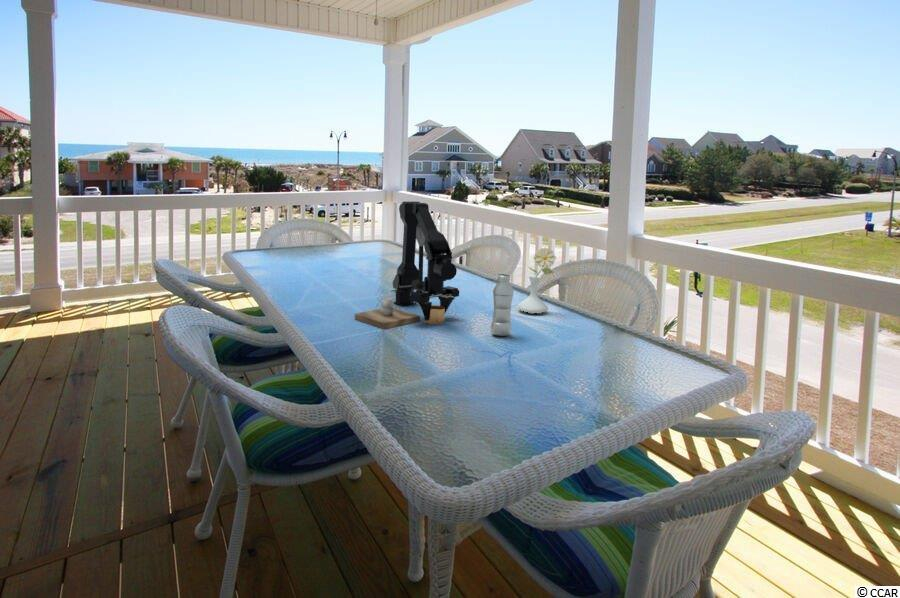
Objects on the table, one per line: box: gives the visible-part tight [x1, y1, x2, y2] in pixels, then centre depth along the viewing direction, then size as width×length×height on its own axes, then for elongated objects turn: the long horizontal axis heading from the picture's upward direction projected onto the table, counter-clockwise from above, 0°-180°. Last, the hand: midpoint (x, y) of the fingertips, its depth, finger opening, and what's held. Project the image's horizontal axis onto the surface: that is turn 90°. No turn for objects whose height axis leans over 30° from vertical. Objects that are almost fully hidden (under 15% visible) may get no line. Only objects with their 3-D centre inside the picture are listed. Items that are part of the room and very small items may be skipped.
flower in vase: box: [517, 246, 557, 314], centre depth 225 cm, size 13×11×25 cm
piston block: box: [354, 297, 421, 330], centre depth 209 cm, size 16×16×8 cm
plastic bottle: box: [490, 273, 515, 337], centre depth 194 cm, size 6×7×20 cm
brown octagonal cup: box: [423, 304, 446, 325], centre depth 210 cm, size 7×7×5 cm
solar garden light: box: [416, 224, 437, 292], centre depth 251 cm, size 12×12×30 cm
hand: (434, 318), depth 210 cm, fingers closed on brown octagonal cup, 7 cm apart
